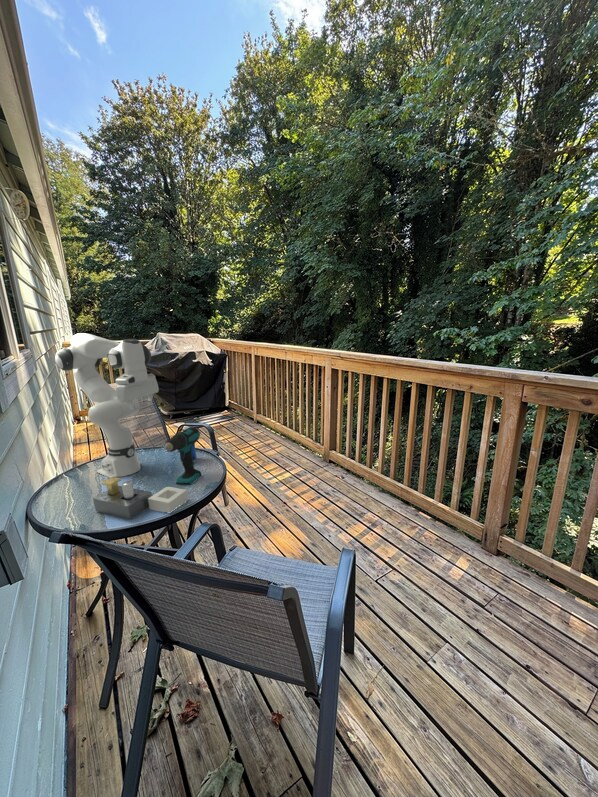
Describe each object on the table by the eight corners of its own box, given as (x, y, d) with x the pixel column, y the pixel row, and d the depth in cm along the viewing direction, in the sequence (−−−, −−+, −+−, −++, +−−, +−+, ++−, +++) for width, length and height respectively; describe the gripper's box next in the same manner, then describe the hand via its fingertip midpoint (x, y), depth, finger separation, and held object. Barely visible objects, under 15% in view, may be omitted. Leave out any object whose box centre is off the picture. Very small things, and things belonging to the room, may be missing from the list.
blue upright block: (195, 463, 189) (191, 436, 186) (179, 465, 189) (175, 437, 185) (198, 457, 198) (194, 430, 194) (183, 458, 197) (179, 432, 193)
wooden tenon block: (105, 498, 148) (101, 482, 146) (115, 492, 152) (112, 477, 150) (113, 500, 146) (110, 483, 144) (123, 494, 150) (120, 478, 148)
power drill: (181, 495, 156) (173, 443, 150) (163, 494, 158) (155, 442, 152) (207, 470, 181) (201, 424, 175) (191, 469, 183) (185, 423, 177)
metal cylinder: (124, 511, 146) (119, 485, 143) (132, 506, 149) (127, 480, 146) (131, 512, 144) (126, 486, 141) (139, 507, 148) (134, 481, 145)
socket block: (95, 511, 147) (92, 498, 145) (119, 497, 157) (117, 485, 156) (130, 519, 139) (128, 506, 137) (153, 504, 150) (151, 491, 148)
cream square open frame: (149, 509, 146) (147, 498, 145) (168, 496, 156) (167, 486, 154) (170, 513, 142) (168, 502, 140) (188, 500, 151) (186, 490, 150)
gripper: (149, 372, 163) (153, 401, 167) (111, 380, 145) (117, 412, 148) (159, 372, 161) (163, 401, 164) (123, 381, 143) (128, 413, 146)
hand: (141, 407), depth 156 cm, fingers open, 8 cm apart
